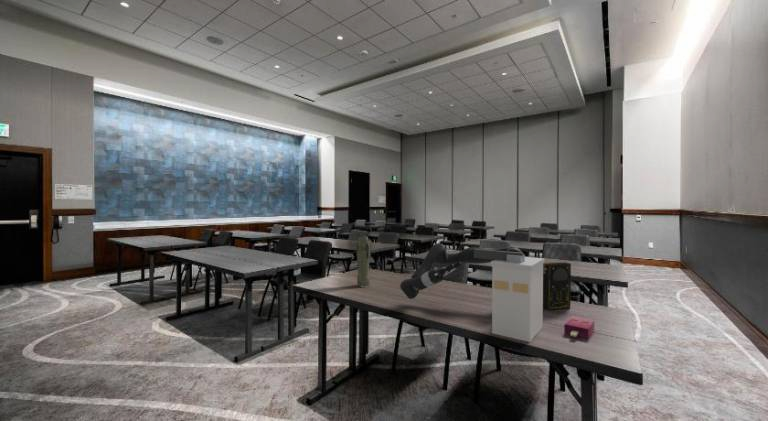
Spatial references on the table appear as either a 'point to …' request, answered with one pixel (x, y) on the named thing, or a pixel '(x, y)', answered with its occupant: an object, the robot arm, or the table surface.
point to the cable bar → (499, 255)
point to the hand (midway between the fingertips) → (457, 264)
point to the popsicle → (579, 327)
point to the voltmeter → (556, 285)
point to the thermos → (363, 261)
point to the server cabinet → (517, 298)
